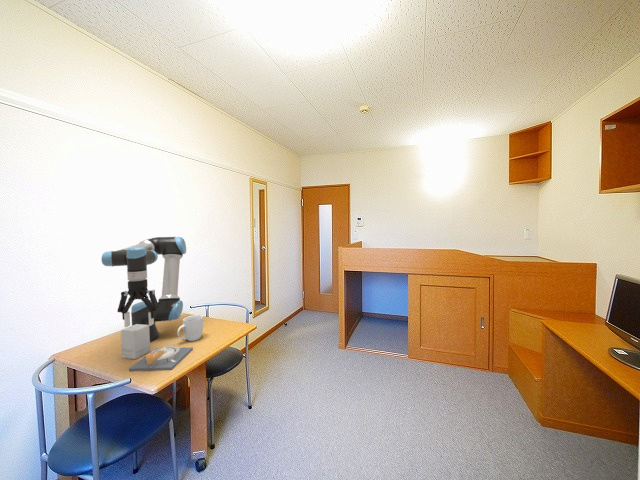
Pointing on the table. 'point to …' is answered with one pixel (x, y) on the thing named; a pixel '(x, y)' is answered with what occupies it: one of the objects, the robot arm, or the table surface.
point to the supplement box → (135, 341)
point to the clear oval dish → (159, 354)
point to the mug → (192, 327)
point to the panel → (161, 366)
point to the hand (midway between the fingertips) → (139, 325)
